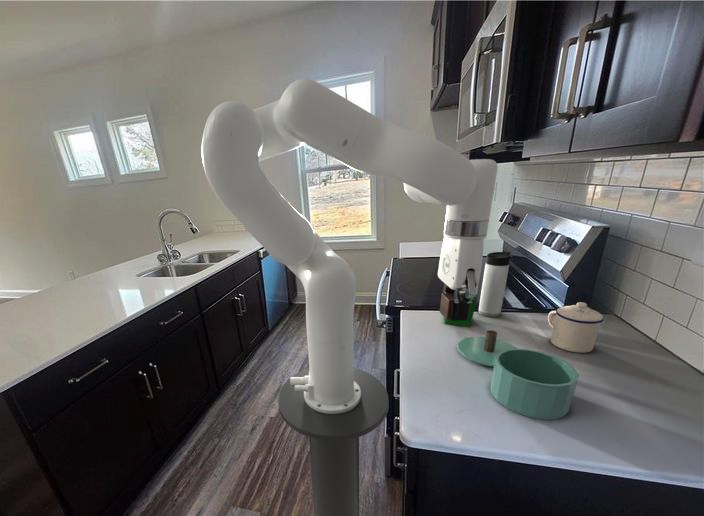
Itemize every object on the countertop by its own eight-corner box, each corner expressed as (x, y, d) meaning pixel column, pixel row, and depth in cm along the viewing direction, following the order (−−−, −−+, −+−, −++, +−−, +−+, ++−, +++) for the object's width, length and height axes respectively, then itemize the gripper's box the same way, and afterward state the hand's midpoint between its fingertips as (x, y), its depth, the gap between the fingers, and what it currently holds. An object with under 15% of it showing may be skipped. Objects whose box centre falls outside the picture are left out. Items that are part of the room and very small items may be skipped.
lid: (471, 370, 75) (474, 347, 72) (449, 340, 88) (451, 321, 86) (535, 369, 74) (540, 346, 71) (502, 339, 87) (506, 319, 85)
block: (446, 320, 66) (449, 300, 64) (439, 311, 70) (441, 293, 69) (468, 319, 66) (471, 300, 64) (459, 311, 70) (462, 292, 68)
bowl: (511, 420, 59) (518, 386, 57) (479, 377, 72) (484, 349, 69) (586, 419, 58) (597, 386, 55) (540, 377, 71) (547, 347, 68)
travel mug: (506, 315, 101) (517, 253, 94) (488, 318, 99) (498, 256, 92) (490, 308, 107) (500, 249, 99) (473, 311, 105) (482, 252, 98)
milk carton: (441, 324, 98) (447, 261, 90) (443, 313, 105) (449, 254, 98) (473, 328, 94) (482, 263, 86) (473, 316, 101) (482, 255, 94)
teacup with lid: (603, 350, 79) (617, 307, 75) (572, 356, 77) (585, 312, 73) (559, 330, 90) (568, 291, 86) (531, 334, 88) (539, 295, 84)
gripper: (432, 223, 69) (424, 301, 76) (463, 236, 54) (449, 333, 60) (467, 222, 69) (456, 300, 75) (509, 235, 53) (490, 332, 60)
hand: (453, 314), depth 68 cm, fingers closed on block, 4 cm apart
